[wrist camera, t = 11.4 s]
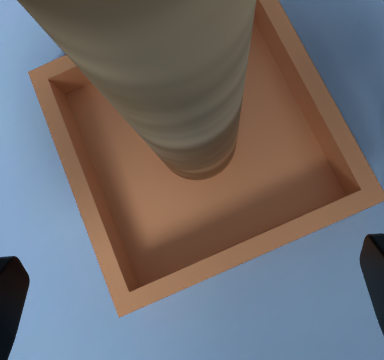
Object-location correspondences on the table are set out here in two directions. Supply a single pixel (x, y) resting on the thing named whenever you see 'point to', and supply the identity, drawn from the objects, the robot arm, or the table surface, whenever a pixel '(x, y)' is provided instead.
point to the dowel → (163, 69)
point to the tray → (215, 186)
